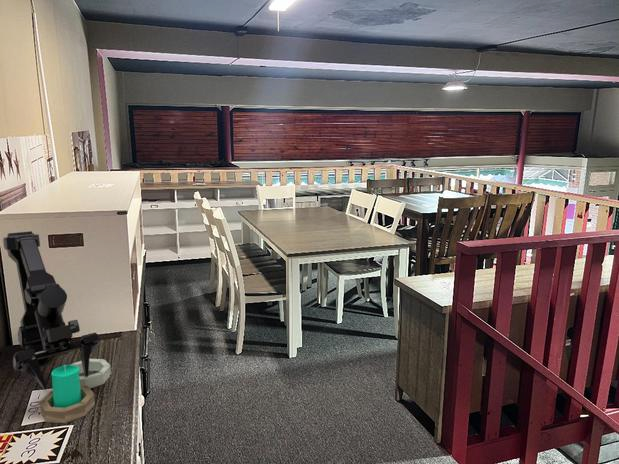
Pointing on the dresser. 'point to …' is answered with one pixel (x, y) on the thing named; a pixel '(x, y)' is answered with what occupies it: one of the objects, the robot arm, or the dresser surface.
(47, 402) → the socket
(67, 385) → the candle
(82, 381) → the socket
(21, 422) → the dresser surface
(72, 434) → the dresser surface
